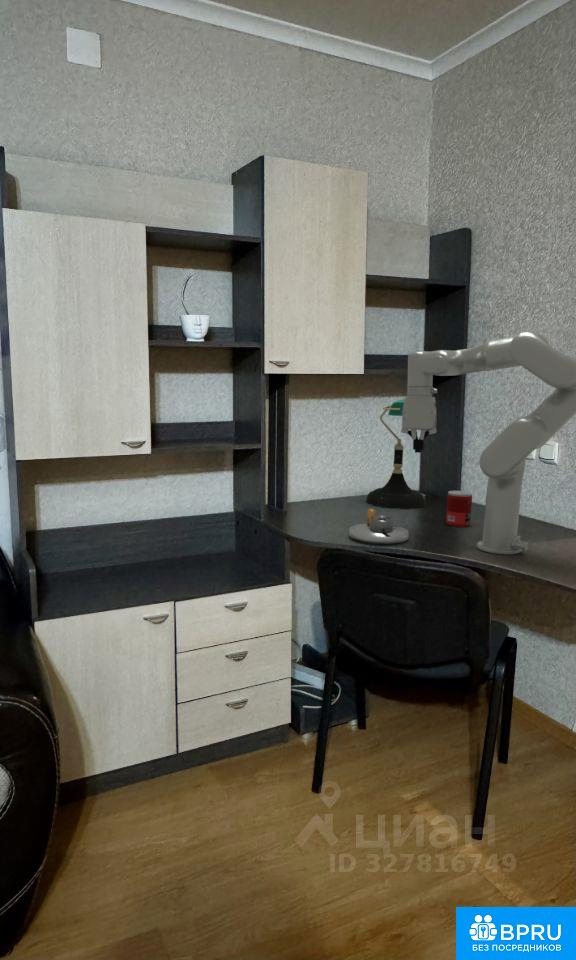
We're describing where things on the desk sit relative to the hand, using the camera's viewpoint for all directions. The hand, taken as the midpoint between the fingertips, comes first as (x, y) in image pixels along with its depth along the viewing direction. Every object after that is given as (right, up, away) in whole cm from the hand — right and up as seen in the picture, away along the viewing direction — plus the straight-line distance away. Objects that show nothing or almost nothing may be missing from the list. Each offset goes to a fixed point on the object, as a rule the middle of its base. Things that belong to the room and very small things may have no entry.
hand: (418, 452), depth 215 cm
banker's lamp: (+1, -18, +54) cm, 57 cm away
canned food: (+17, -24, +20) cm, 36 cm away
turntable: (-13, -27, -2) cm, 29 cm away
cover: (-12, -24, -2) cm, 27 cm away
